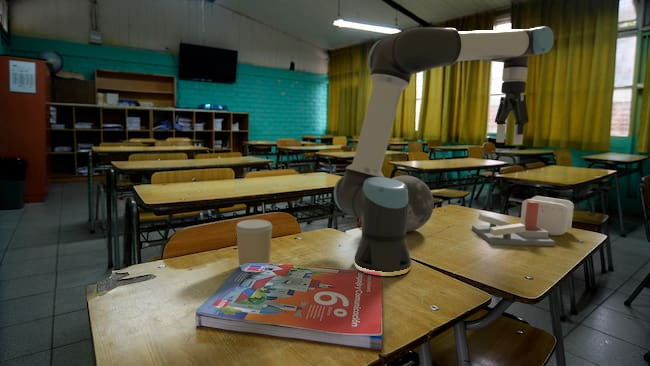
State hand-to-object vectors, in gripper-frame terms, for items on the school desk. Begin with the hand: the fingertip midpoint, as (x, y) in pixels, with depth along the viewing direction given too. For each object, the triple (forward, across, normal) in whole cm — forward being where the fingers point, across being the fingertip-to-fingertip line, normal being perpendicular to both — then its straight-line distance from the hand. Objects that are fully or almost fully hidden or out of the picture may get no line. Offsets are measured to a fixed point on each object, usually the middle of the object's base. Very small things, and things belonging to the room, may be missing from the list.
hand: (508, 143), depth 134 cm
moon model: (+32, -3, +36) cm, 48 cm away
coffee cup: (+32, -41, +82) cm, 97 cm away
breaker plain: (+27, -3, +4) cm, 28 cm away
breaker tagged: (+28, -14, +4) cm, 32 cm away
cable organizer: (+32, +1, -17) cm, 36 cm away
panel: (+32, -8, 0) cm, 33 cm away
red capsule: (+30, -9, -6) cm, 32 cm away
